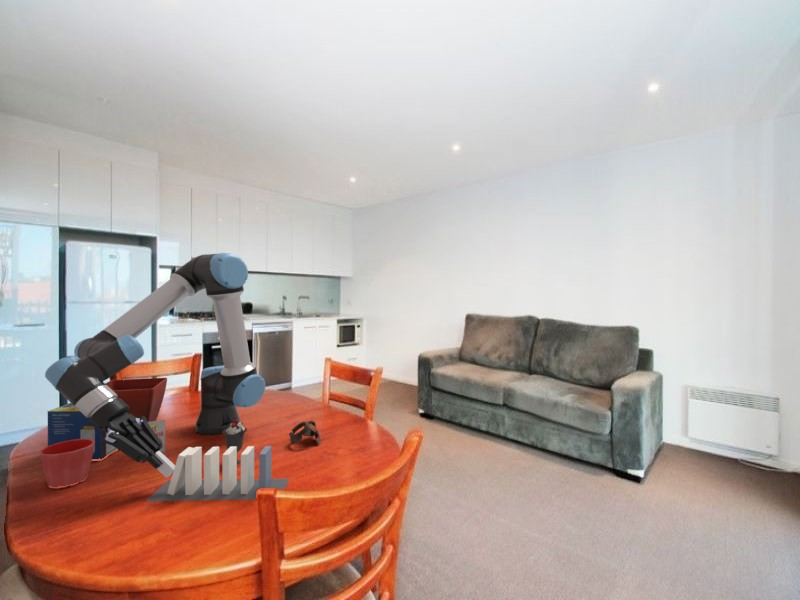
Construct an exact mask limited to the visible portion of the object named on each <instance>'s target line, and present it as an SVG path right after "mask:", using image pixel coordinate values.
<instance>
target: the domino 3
mask: <svg viewBox="0 0 800 600" xmlns="http://www.w3.org/2000/svg"><path fill="white" fill-rule="evenodd" d="M203 480H204V495H211V493H212V492H213V491H214V490H215V489H216V488H217V486H218V485H219V480H220V446H212V447H211V448H210V449H208V451H207V452H206V453H204V455H203Z"/></svg>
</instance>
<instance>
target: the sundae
mask: <svg viewBox="0 0 800 600" xmlns="http://www.w3.org/2000/svg"><path fill="white" fill-rule="evenodd" d="M235 417H236V416H235ZM235 417H234V418H235ZM243 425H244V424H243V422H242V421H241V420H240V421H238V420H237V419H235V421H234V419H233V422H232V423H231V424H230V426H229V427H228V428H227V429H225V430H224V431H223V432H222V433H221V434H223V435H224V437H225V445H226V451H227V450H228V449H229V448H230V447H231V446H237V454H238V452H240V450H242V449H243V444H244V436H245V433H247V431H248V428H247V427H245V425H244V426H243ZM239 464H240V465H241V460H238V458H237V466H238V465H239Z"/></svg>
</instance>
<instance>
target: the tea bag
mask: <svg viewBox="0 0 800 600" xmlns="http://www.w3.org/2000/svg"><path fill="white" fill-rule="evenodd" d="M147 423H148V424H149V426H150V427H151V428H152V430H153V431H154V432H155V434H156V435H157V436H158V438H159V439H160V441H161V442H162V443H163V445H162V448H161V449H160V451H161V452H165V453H166V419H158V420H156V421H151V422H147Z"/></svg>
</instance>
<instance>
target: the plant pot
mask: <svg viewBox="0 0 800 600" xmlns="http://www.w3.org/2000/svg"><path fill="white" fill-rule="evenodd" d="M167 382H168V377H149V378H130V379H129V378H126V379H125V378H124V379H111V380H109V381H107V382H104V383H105V384H106V385H107V386H108V387H109V388H110V389H111V390H113V391H114V392H115V393H116V394H117V395H118V396H117V398H121V399H122V400H123V401H124V402H125V403H126V404H127V405H128V406H129V410H128V412H129V413H130V414H132V415H134V416H135V418H141V417H142V416H144V417H146V420H147V422H151V421H157V419H158V417H159V413H160V411H161V408H162V404H163V402H164V397H165V394H166V388H167V384H168V383H167Z"/></svg>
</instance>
